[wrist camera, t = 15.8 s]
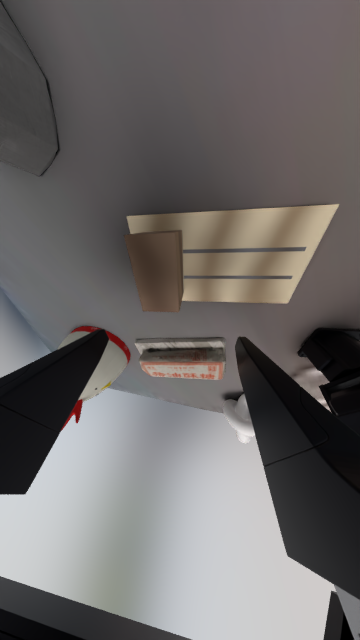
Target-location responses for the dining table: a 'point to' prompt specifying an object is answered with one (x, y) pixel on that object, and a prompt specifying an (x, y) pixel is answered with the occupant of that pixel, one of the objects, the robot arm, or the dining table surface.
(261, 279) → the board
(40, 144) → the coffeepot
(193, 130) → the dining table surface
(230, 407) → the white knot sculpture
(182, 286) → the block
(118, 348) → the kitchen timer
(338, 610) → the robot arm
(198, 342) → the packaged product
